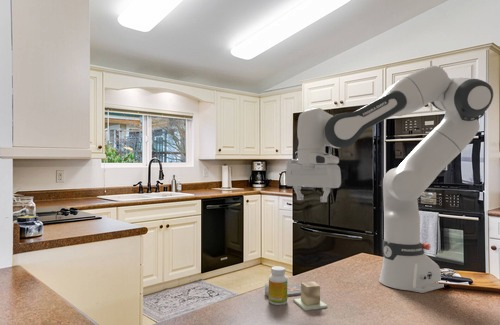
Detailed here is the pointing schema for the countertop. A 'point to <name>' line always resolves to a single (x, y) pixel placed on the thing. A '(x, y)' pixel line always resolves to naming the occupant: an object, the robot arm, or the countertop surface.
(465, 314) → the countertop surface
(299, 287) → the pad
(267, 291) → the light grey dome
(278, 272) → the supplement bottle
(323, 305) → the pad
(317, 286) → the block
